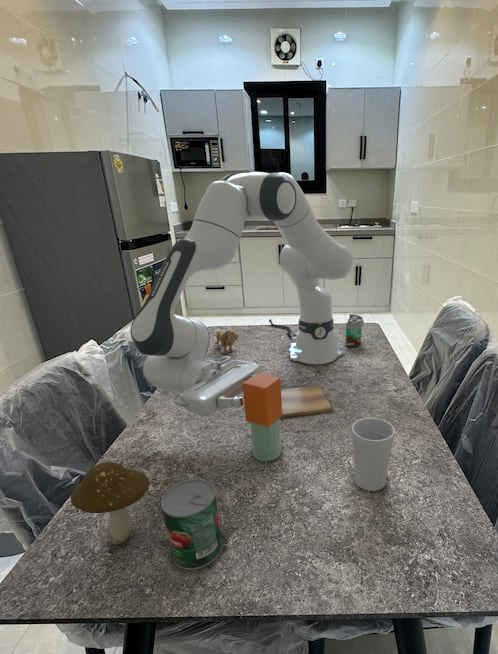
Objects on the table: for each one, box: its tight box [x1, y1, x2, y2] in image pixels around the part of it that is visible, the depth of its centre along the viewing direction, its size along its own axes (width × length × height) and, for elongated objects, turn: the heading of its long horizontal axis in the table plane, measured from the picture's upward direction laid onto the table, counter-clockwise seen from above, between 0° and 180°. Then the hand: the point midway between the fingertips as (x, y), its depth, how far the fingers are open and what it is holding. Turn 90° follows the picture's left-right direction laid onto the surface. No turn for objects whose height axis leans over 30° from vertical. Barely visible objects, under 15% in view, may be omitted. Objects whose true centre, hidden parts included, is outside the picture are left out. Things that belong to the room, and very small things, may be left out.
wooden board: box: [279, 385, 333, 419], centre depth 106 cm, size 14×14×1 cm
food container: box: [345, 313, 365, 348], centre depth 147 cm, size 12×6×10 cm, turn 168°
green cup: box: [249, 417, 282, 462], centre depth 84 cm, size 6×6×9 cm
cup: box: [351, 417, 396, 492], centre depth 74 cm, size 8×8×12 cm
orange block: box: [242, 372, 282, 427], centre depth 80 cm, size 6×6×9 cm
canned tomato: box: [160, 478, 224, 571], centre depth 60 cm, size 8×8×11 cm
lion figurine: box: [214, 329, 240, 355], centre depth 143 cm, size 15×5×9 cm, turn 44°
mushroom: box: [70, 461, 151, 545], centre depth 61 cm, size 9×11×15 cm
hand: (254, 393), depth 80 cm, fingers open, 8 cm apart
